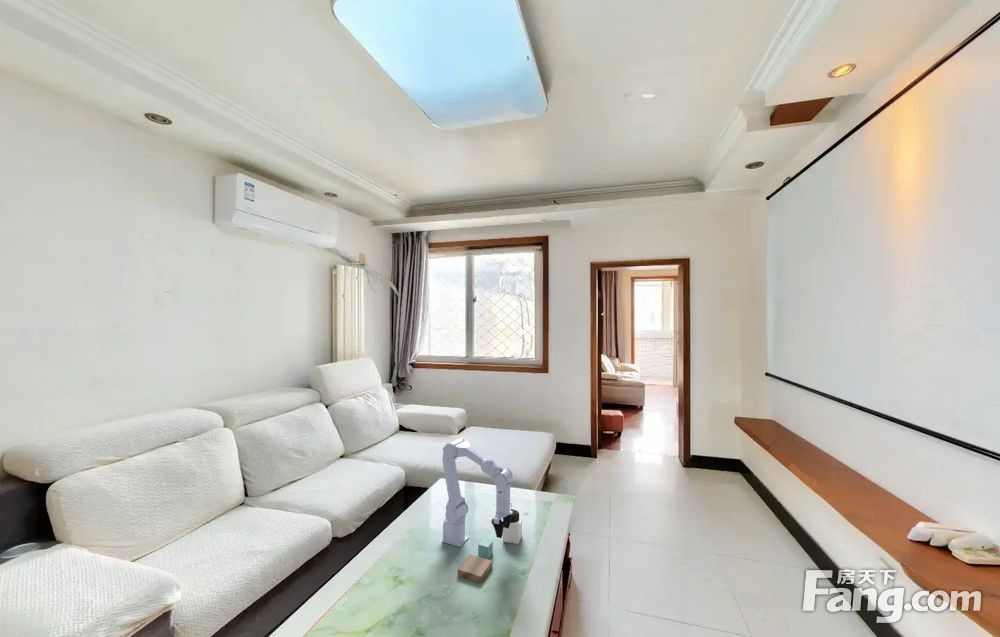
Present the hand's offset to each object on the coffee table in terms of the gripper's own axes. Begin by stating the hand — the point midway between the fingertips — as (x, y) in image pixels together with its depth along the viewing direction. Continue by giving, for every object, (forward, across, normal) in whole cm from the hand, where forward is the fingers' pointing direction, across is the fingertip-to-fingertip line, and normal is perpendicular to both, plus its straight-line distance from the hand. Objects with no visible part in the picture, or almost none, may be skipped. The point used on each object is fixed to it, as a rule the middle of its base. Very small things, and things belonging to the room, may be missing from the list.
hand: (502, 532), depth 158 cm
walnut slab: (+10, -13, +6) cm, 18 cm away
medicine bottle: (+10, +13, +1) cm, 16 cm away
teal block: (+10, -2, +7) cm, 12 cm away
